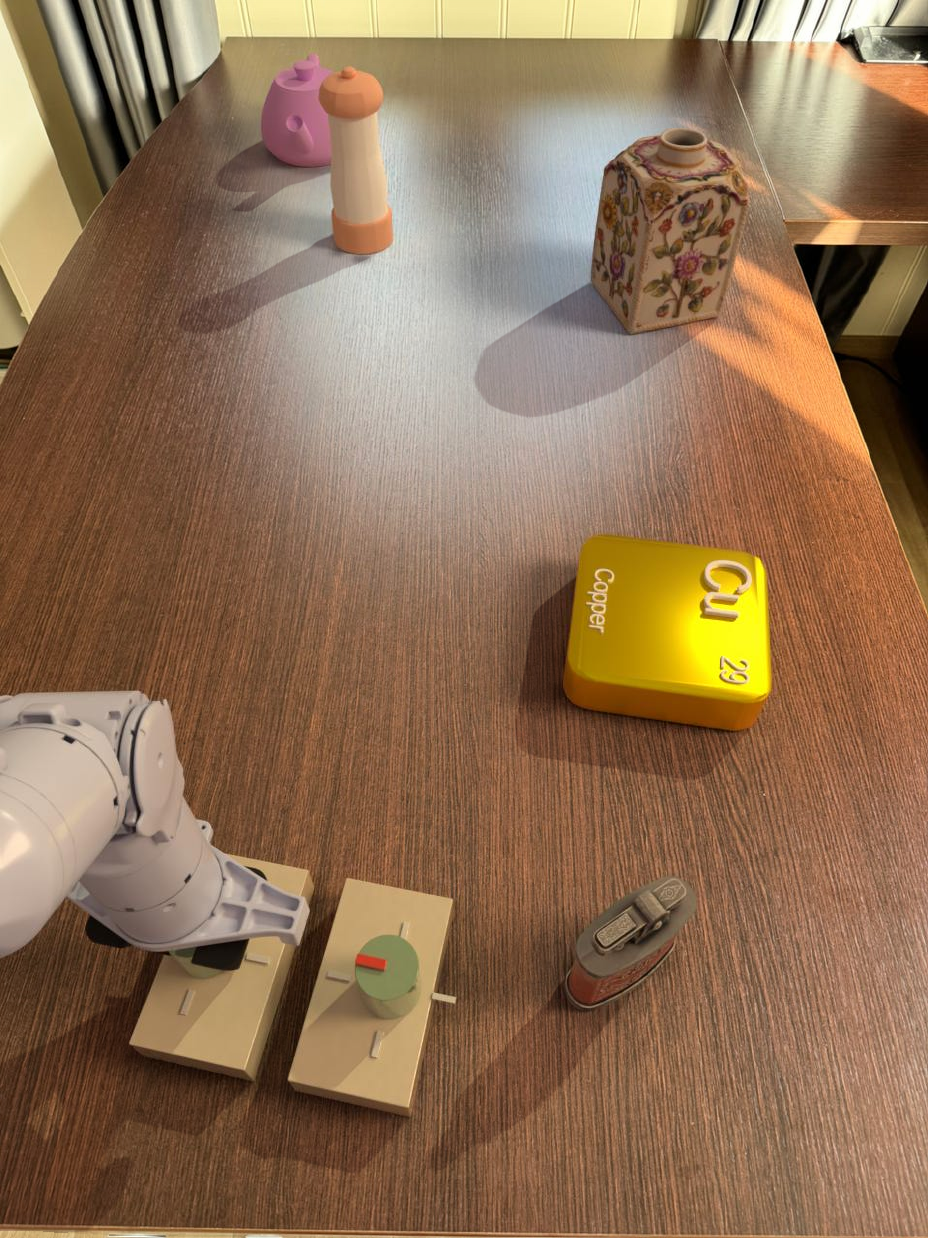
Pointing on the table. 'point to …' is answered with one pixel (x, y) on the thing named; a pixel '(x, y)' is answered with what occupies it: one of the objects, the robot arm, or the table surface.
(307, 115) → the teapot
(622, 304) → the decorative jar
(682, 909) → the lighter
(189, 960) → the green dial knob
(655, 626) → the element tile
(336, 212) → the pepper shaker
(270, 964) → the tan base plate
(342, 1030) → the dial knob base
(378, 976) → the knob
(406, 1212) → the table surface
